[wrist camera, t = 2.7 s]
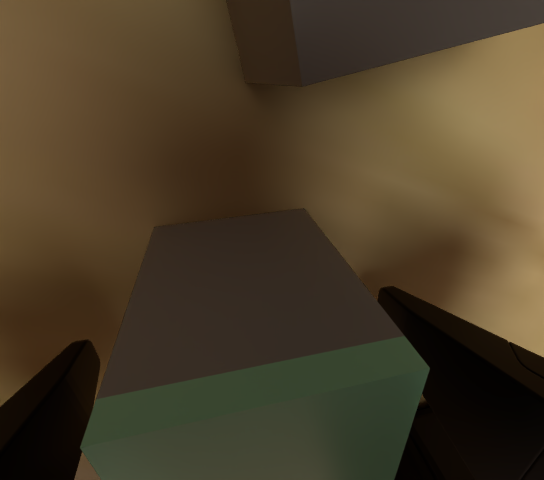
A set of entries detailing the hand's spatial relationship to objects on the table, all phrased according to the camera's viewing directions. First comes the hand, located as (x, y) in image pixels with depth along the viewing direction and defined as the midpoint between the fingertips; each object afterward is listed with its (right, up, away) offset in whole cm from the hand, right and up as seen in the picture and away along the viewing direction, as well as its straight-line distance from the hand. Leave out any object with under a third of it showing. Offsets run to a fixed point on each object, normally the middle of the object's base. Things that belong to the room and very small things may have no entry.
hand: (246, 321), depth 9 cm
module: (0, +1, +1) cm, 1 cm away
